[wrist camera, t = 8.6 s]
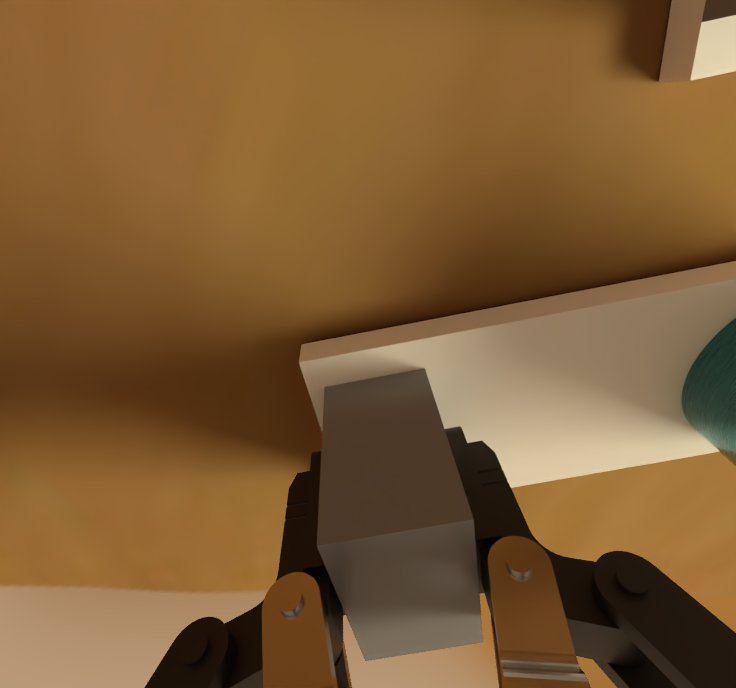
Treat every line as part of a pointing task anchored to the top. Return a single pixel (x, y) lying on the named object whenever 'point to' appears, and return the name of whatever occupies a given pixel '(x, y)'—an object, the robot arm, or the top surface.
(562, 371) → the cream flat board
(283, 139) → the top surface
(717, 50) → the broken strip
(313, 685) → the robot arm
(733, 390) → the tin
